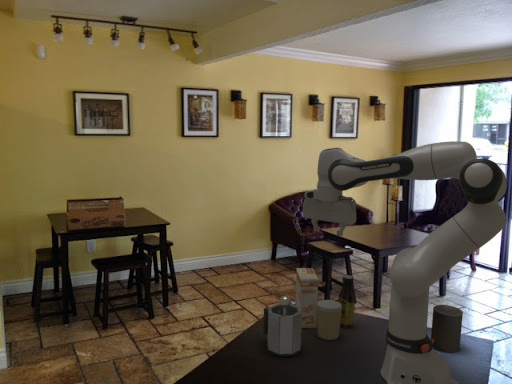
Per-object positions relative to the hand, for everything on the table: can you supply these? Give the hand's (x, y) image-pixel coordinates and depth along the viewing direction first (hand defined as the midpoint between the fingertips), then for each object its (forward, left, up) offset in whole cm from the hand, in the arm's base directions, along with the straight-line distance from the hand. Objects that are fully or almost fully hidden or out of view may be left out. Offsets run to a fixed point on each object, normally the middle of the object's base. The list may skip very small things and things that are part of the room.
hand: (328, 233), depth 158 cm
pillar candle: (-34, -25, -39) cm, 58 cm away
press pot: (+7, +16, -39) cm, 43 cm away
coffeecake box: (+15, -9, -39) cm, 43 cm away
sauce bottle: (+1, -16, -39) cm, 42 cm away
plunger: (+6, +16, -34) cm, 39 cm away
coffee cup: (+1, -4, -39) cm, 40 cm away
